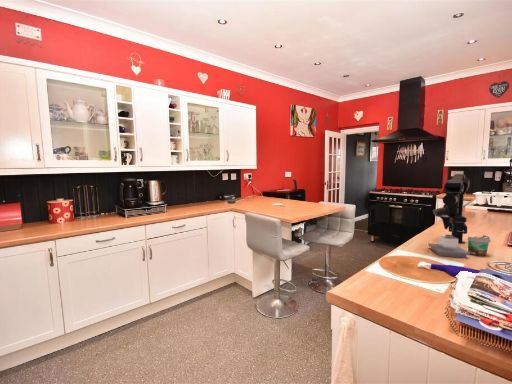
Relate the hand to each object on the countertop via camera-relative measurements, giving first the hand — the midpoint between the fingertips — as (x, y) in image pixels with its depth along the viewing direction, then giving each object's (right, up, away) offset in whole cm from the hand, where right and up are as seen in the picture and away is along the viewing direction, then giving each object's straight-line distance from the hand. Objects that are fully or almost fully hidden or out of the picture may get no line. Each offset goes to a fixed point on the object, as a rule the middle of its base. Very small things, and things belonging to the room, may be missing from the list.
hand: (449, 231), depth 141 cm
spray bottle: (-19, -16, -25) cm, 35 cm away
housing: (-1, -9, 0) cm, 9 cm away
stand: (-1, -12, +1) cm, 12 cm away
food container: (+15, -13, -2) cm, 20 cm away
